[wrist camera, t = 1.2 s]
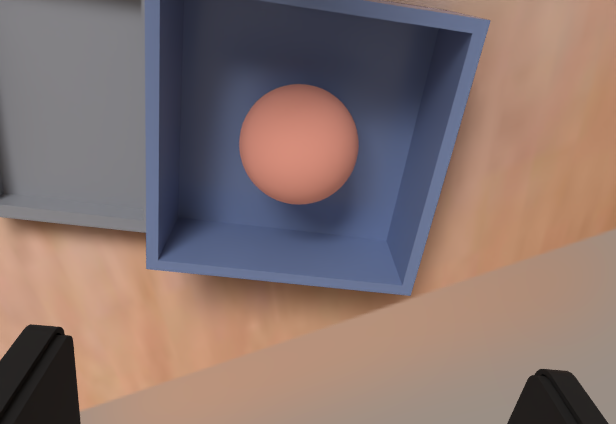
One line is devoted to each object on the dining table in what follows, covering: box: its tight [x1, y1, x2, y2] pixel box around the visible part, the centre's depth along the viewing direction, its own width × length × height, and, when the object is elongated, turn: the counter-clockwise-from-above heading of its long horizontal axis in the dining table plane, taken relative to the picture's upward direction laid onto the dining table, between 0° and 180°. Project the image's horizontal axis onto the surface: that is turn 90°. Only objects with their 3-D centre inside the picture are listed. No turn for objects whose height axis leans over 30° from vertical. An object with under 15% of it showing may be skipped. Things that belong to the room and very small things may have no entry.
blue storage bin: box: [145, 0, 490, 296], centre depth 25 cm, size 14×14×6 cm
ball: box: [239, 84, 359, 205], centre depth 24 cm, size 6×6×6 cm
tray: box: [0, 0, 146, 233], centre depth 25 cm, size 10×14×2 cm
